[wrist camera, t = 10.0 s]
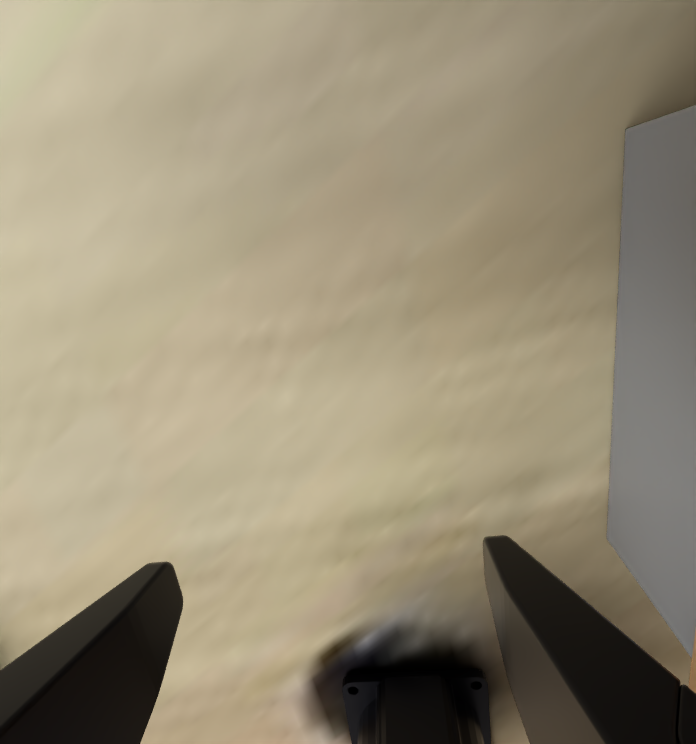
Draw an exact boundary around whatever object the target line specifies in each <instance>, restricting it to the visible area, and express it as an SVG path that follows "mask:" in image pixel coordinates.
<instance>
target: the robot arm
mask: <svg viewBox="0 0 696 744" xmlns="http://www.w3.org/2000/svg"><path fill="white" fill-rule="evenodd" d="M483 556H484V572H485V582H486V588H487V592H488V596H489V601H490V605H491V609H492V614H493V618H494V623H495V627H496V631H497V636H498V640H499V644H500V649H501V653H502V657H503V662H504V666H505V669H506V673H507V677H508V680H509V684H510V687H511V690H512V693H513V696H514V699H515V702H516V705H517V708H518V711H519V713H520V716H521V719H522V722H523V725H524V728H525V731H526V734H527V736H528V739H529V742H530V744H696V693H695V692H694V691H692V690H691V689H690V688H689V687H688V686H686V685H681V686H680V680H679V679H678V678H677V677H675V676H674V675H673V674H672V673H671V672H669V671H668V670H667V669H666V668H665V667H663V666H662V665H661V664H660V663H659V662H657V661H656V660H655V659H654V658H653V657H652V656H650V655H649V654H648V653H647V652H646V651H644V650H643V649H642V648H641V647H640V646H638V645H637V644H636V643H635V642H634V641H632V640H631V639H630V638H629V637H628V636H626V635H625V634H624V633H623V632H622V631H621V630H619V629H618V628H617V627H616V626H615V625H613V624H612V623H611V622H610V621H609V620H607V619H606V618H605V617H604V616H603V615H601V614H600V613H599V612H598V611H597V610H595V609H594V608H593V607H592V606H591V605H590V604H588V603H587V602H586V601H585V600H584V599H582V598H581V597H580V596H579V595H578V594H576V593H575V592H574V591H573V590H572V589H570V588H569V587H568V586H567V585H566V584H564V583H563V582H562V581H561V580H560V579H559V578H557V577H556V576H555V575H554V574H553V573H551V572H550V571H549V570H548V569H547V568H545V567H544V566H543V565H542V564H541V563H539V562H538V561H537V560H536V559H535V558H533V557H532V556H531V555H530V554H529V553H528V552H526V551H525V550H524V549H523V548H522V547H520V546H519V545H518V544H517V543H516V542H514V541H513V540H512V539H511V538H510V537H508V536H505V535H501V536H488V537H485V538H484V540H483ZM182 609H183V596H182V592H181V589H180V586H179V583H178V579H177V576H176V573H175V570H174V567H173V565H172V564H171V563H169V562H155V563H149V564H147V565H145V566H144V567H142V568H141V569H139V570H138V571H137V572H135V573H134V574H133V575H131V576H130V577H128V578H127V579H126V580H124V581H123V582H122V583H120V584H119V585H117V586H116V587H115V588H113V589H112V590H110V591H109V592H108V593H106V594H105V595H104V596H102V597H101V598H99V599H98V600H97V601H95V602H94V603H93V604H91V605H90V606H88V607H87V608H86V609H84V610H83V611H82V612H80V613H79V614H77V615H76V616H75V617H73V618H72V619H71V620H69V621H68V622H66V623H65V624H64V625H62V626H61V627H59V628H58V629H57V630H55V631H54V632H53V633H51V634H50V635H48V636H47V637H46V638H44V639H43V640H42V641H40V642H39V643H37V644H36V645H35V646H33V647H32V648H31V649H29V650H28V651H26V652H25V653H24V654H22V655H21V656H19V657H18V658H17V659H15V660H14V661H13V662H11V663H10V664H8V665H7V666H6V667H4V668H3V669H2V670H0V744H140V742H141V740H142V737H143V734H144V732H145V729H146V727H147V724H148V721H149V719H150V716H151V713H152V711H153V708H154V705H155V702H156V700H157V697H158V694H159V691H160V687H161V684H162V681H163V677H164V674H165V670H166V666H167V663H168V659H169V656H170V652H171V649H172V645H173V641H174V638H175V634H176V631H177V627H178V624H179V620H180V616H181V613H182ZM342 692H343V698H344V703H345V709H346V714H347V719H348V725H349V730H350V735H351V741H352V744H491V735H490V717H489V698H488V684H487V680H486V676H485V673H484V672H483V671H481V670H479V669H460V670H437V671H415V672H393V673H371V674H351V675H348V676H346V677H345V678H344V679H343V688H342Z"/></svg>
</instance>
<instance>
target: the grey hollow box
mask: <svg viewBox="0 0 696 744" xmlns="http://www.w3.org/2000/svg"><path fill="white" fill-rule="evenodd" d="M607 540H608V541H609V543H610V544H611V546H612V547H613V548H614V550H615V551H616V553H617V554H618V555H619V557H620V558H621V560H622V561H623V562H624V564H625V565H626V567H627V568H628V569H629V571H630V572H631V574H632V575H633V577H634V578H635V579H636V581H637V582H638V584H639V585H640V586H641V588H642V589H643V591H644V592H645V593H646V595H647V596H648V598H649V599H650V600H651V602H652V603H653V605H654V606H655V607H656V609H657V610H658V612H659V613H660V615H661V616H662V617H663V619H664V620H665V622H666V623H667V624H668V626H669V627H670V629H671V630H672V631H673V633H674V634H675V636H676V637H677V638H678V640H679V641H680V643H681V644H682V645H683V647H684V648H685V650H686V651H687V653H688V654H689V655H690V657H691V658H692V653H693V645H694V638H695V630H696V105H694V106H691V107H688V108H685V109H682V110H679V111H677V112H674V113H671V114H668V115H665V116H662V117H659V118H656V119H653V120H650V121H648V122H645V123H642V124H639V125H636V126H633V127H630V128H627V129H626V130H625V151H624V173H623V195H622V217H621V238H620V260H619V282H618V303H617V325H616V347H615V369H614V390H613V412H612V434H611V456H610V477H609V499H608V521H607Z"/></svg>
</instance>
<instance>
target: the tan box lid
mask: <svg viewBox="0 0 696 744" xmlns="http://www.w3.org/2000/svg"><path fill="white" fill-rule="evenodd" d="M689 688H690V689H691V690H692V691H694V692H695V693H696V630H695V638H694V645H693V653H692V661H691V669H690V677H689Z"/></svg>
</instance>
